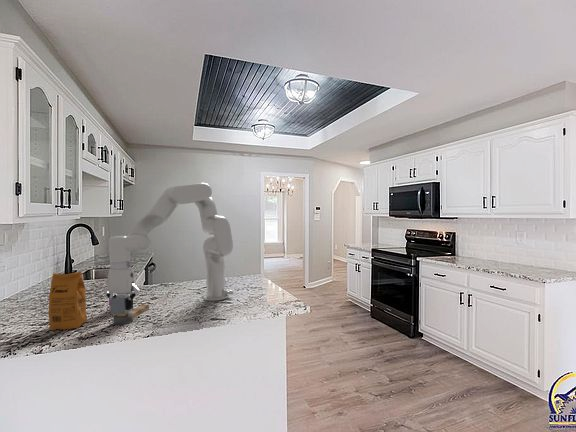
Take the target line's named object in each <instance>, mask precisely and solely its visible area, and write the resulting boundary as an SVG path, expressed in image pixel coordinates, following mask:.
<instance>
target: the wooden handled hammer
mask: <svg viewBox="0 0 576 432" xmlns="http://www.w3.org/2000/svg"><path fill="white" fill-rule="evenodd" d="M149 309H150V306H149V304H140V305H138V306H137V307H134V308H133V309H132V310H130V311H129V312H127V313H125V314H114V315H113V325H114V326H124V324H125V325H129V324H131V323H132V322H133V320H134V319H135V318H137V317H138V316H140V315H142V314H143V313H144V311H145V312H146V311H148V310H149ZM136 316H137V317H136ZM130 322H131V323H130Z"/></svg>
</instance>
